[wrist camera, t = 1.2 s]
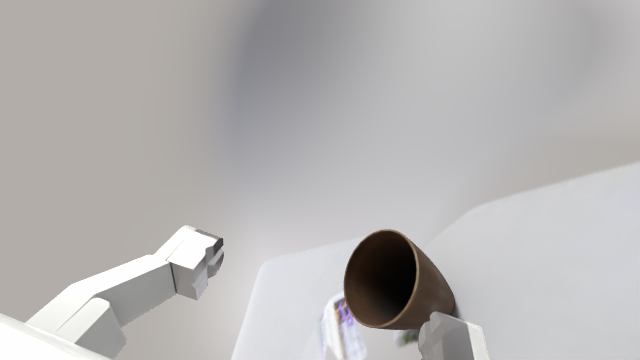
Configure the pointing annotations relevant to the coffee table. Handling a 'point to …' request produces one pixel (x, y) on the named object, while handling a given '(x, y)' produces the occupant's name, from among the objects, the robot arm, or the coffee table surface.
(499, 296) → the coffee table surface
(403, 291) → the plant pot
